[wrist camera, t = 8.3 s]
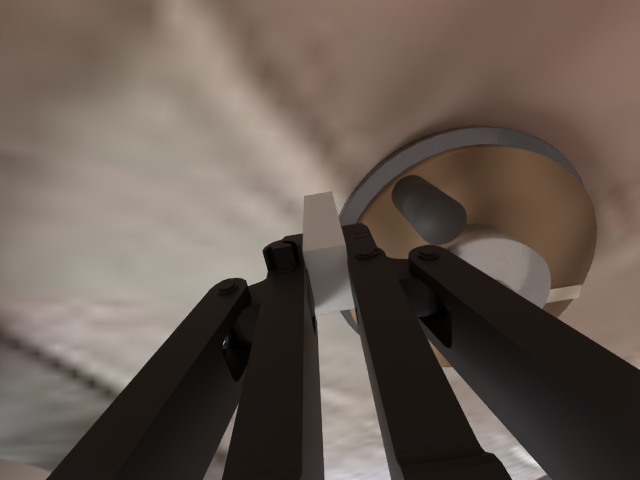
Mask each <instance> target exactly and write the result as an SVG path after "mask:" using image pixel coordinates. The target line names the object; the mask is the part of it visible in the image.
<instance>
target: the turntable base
mask: <svg viewBox="0 0 640 480" xmlns="http://www.w3.org/2000/svg"><path fill="white" fill-rule="evenodd" d="M478 144H494V145H504V146H509V147H515V148H519V149H524V150H528V151H532V152H534V153H537V154H540V155H543V156H546V157H548V158H550V159H552V160H554V161H555V162H557V163H559V164H561V165H562V166H563V167H565V168H566V169H567V170H568V171H570V172H571V173H572V174H573V175H574V176H575V177H576V178H577V180H578V181H579V182H580V183H581V184H582V186H583V183H582V181H581V179H580V177H579V175H578V174H577V172H576V170H575V168H574V167H573V166H572V165H571V164H570V162H569V161H568V160H567V159H566V158H565V156H564V155H562V154H561V153H560V152H559V151H557V150H556V149H555V148H554V147H553V146H551V145H549V144H548V143H546V142H544V141H542V140H540V139H539V138H537V137H534V136H531V135H529V134H526V133H523V132H520V131H515V130H510V129H504V128H498V127H488V126H470V127H461V128H453V129H449V130H445V131H441V132H437V133H434V134H431V135H428V136H426V137H423V138H421V139H418V140H416V141H414V142H412V143H410V144H408V145H406V146H405V147H403V148H401V149H399V150H397V151H396V152H395V153H393V154H392V155H390V156H389V157H387V158H386V159H385V160H383V161H382V162H381V163H380V164H379V165H377V166H376V167H375V168H374V169H373V170H372V171H371V172H370V173H369V174H367V176H366V177H365V178H364V179H363V180H362V181H361V183H360V184H359V185H358V186H357V187H356V188H355V190H354V191H353V193H352V194H351V196H350V197H349V199H348V200H347V202H346V203H345V205H344V207H343V209H342V211H341V213H340V215H339V221H340V225H341V226H345V225H351V224H356V222H357V220H358V218H359V216H360V214H361V213H362V212H363V210H364V209H365V207H366V206H367V205H368V203H369V202H370V201H371V199H372V198H373V197H374V196H375V195H376V194H377V193H378V192H379V191H380V190H381V188H383V187H384V186H385V185H386V184H387V183H388V182H389V181H391V180H392V179H393V178H394V177H395V176H397V175H398V174H400V173H401V172H402V171H404V170H405V169H407V168H408V167H410V166H411V165H413V164H415V163H417V162H419V161H421V160H423V159H425V158H427V157H429V156H432V155H434V154H437V153H440V152H442V151H445V150H449V149H453V148H457V147H461V146H469V145H478ZM583 187H584V186H583ZM340 312H341V313H342V315H343V316H344V318H345V320H346V321H347V322H348V324H349V325H350V326H351V327H352V328H353V329H354V330H355V331H356V332H357V333H358V327H357V324H356V322H355V321H354V319H353V316H352V314H351V311H350V309H348V310H342V311H340ZM358 334H359V335H360V333H358Z"/></svg>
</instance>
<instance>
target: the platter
mask: <svg viewBox="0 0 640 480" xmlns="http://www.w3.org/2000/svg"><path fill="white" fill-rule="evenodd" d="M357 223H363V224H364V225H366V226H368V228H369V230H370V232H371V234H372V237H373V239H374V241H375V243H376V245H377V247H378V248H381V249H382V250H383V251H384V252H385V254H386V256H387V257H390V258H397V259H408V254H409V252H410V251H411V250H412V249H414V248H416V247H419V246H423V245H428V244H429V243H430V244H434V245H442V244H446V243H449V242H451V241H453V240H454V239H456V238H457V237H458V236H459V235H460V234H461V233H462V231H463V230H464V228H465V225H466V224H489V225H492V226H496V227H498V228H500V229H502V230H504V231H505V232H507V233H508V234H510V235H511V236H513V237H514V238H516V239H517V240H519V241H520V242H522V243H523V244H525V245H526V246H528V247H530V248H531V249H533V250H534V251H536V252H537V253H538V254H539V255H540V256H541V257H542V258H543V259H544V261H545V262H546V264H547V266H548V268H549V271H550V275H551V287H550V292H549V296H548V298H547V301H546V303H545V305H544V307H543V310H545V311H546V312H548V313H549V314H551V315H553V316H554V317H556V318H558V317H559V315H560V314H561V313H562V312H563V311H564V310H565V309H566V308H567V307H568V305H569V304H570V303H571V301H572V300H573V299H574V298H579V293H580V289H581V286H582V284H583V283H584V280H585V278H586V276H587V274H588V272H589V269H590V266H591V263H592V260H593V257H594V252H595V246H596V231H597V226H596V219H595V213H594V209H593V206H592V203H591V200H590V198H589V196H588V194H587V193H586V191H585V189H584V187H583V186H582V184H581V183H580V182H579V181H578V180H577V178H576V177H575V176H574V175H573V174H572V173H571V172H570V171H568V170H567V169H566V168H565V167H563V166H562V165H561V164H559V163H557V162H555V161H554V160H552V159H550V158H548V157H546V156H543V155H540V154H537V153H534V152H532V151H528V150H524V149H519V148H515V147H509V146H504V145H494V144H478V145H469V146H461V147H457V148H453V149H449V150H445V151H442V152H440V153H437V154H434V155H432V156H429V157H427V158H425V159H423V160H421V161H419V162H417V163H415V164H413V165H411V166H410V167H408V168H407V169H405V170H404V171H402V172H401V173H400V174H398V175H397V176H395V177H394V178H393V179H392V180H391V181H389V182H388V183H387V184H386V185H385V186H384V187H383V188H381V190H380V191H379V192H378V193H377V194H376V195H375V196H374V197H373V198H372V199H371V201H370V202H369V203H368V205H367V206H366V207H365V209H364V210H363V212H362V213H361V214H360V216H359V218H358V220H357V222H356V224H357ZM350 311H351V314H352V316H353V319H354V321H355V322H356V324H357V320H356V313H355V308H354V309H350ZM428 341H429V340H428ZM429 343H430V345H431V347H432V349H433V351H434V353H435V355H436V357H437V359H438V362H439V364H440V366H441V367H452V366H451V365H450V364H449V362H448V361H447V360H446V359H445V358H444V357H443V356H442V354H441V353H440V352H439V351H438V350H437V349H436V348H435V347H434V345H433V344H432V343H431V342H430V341H429Z"/></svg>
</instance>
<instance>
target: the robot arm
mask: <svg viewBox="0 0 640 480" xmlns="http://www.w3.org/2000/svg"><path fill="white" fill-rule="evenodd" d="M263 255H264V258H265V262H266V266H267V269H268V274H267V278H266V279H265V280H263V281H261V282H259V283H256V284H253V285H250V286H248V285H247V282H246V280H244V279H242V278H232V279H231V278H229V279H226V280H223V281H221V282H220V283H218V284H216V285H215V286H213V287H212V288H211V289H210V290H209V291H208V293H207V294H206V295H205V296H204V297H203V298H202V299H201V301H200V302H199V303H198V304H197V305H196V306H195V308H194V309H193V310H192V311H191V312H190V313H189V315H188V316H187V317H186V318H185V319H184V320H183V321H182V323H181V324H180V325H179V326H178V327H177V328H176V330H175V331H174V332H173V333H172V334H171V335H170V337H169V338H168V339H167V340H166V341H165V342H164V343H163V345H162V346H161V347H160V348H159V349H158V350H157V352H156V353H155V354H154V355H153V356H152V357H151V359H150V360H149V361H148V362H147V363H146V364H145V366H144V367H143V368H142V369H141V370H140V371H139V372H138V374H137V375H136V376H135V377H134V378H133V379H132V381H131V382H130V383H129V384H128V385H127V386H126V388H125V389H124V390H123V391H122V392H121V393H120V394H119V396H118V397H117V398H116V399H115V400H114V401H113V403H112V404H111V405H110V406H109V407H108V408H107V410H106V411H105V412H104V413H103V414H102V415H101V416H100V418H99V419H98V420H97V421H96V422H95V423H94V425H93V426H92V427H91V428H90V429H89V430H88V432H87V433H86V434H85V435H84V436H83V437H82V438H81V440H80V441H79V442H78V443H77V444H76V445H75V447H74V448H73V449H72V450H71V451H70V452H69V454H68V455H67V456H66V457H65V458H64V459H63V461H62V462H61V463H60V464H59V465H58V466H57V467H56V469H55V470H54V471H53V472H52V473H51V475H50V476H49V477H48V478H47V479H46V480H203V478H204V476H205V473H206V471H207V469H208V467H209V465H210V463H211V461H212V459H213V456H214V454H215V452H216V450H217V448H218V446H219V444H220V441H221V439H222V437H223V435H224V433H225V431H226V429H227V427H228V424H229V422H230V420H231V418H232V416H233V414H234V412H235V410H236V407H237V405H238V403H239V405H238V410H237V414H236V419H235V423H234V428H233V432H232V437H231V441H230V446H229V450H228V455H227V459H226V464H225V469H224V473H223V477H222V480H324V459H323V438H322V416H321V395H320V374H319V353H318V332H317V320H316V316H315V312H316V314H323V313H329V312H335V311H342V310H348V309H354V308H355V313H356V320H357V327H358V333H360V338H361V342H362V347H363V351H364V356H365V361H366V365H367V370H368V374H369V379H370V384H371V388H372V393H373V397H374V402H375V407H376V411H377V416H378V421H379V425H380V430H381V434H382V439H383V444H384V448H385V453H386V457H387V462H388V467H389V471H390V476H391V480H512V479H511V477H510V475H509V474H508V472H507V470H506V469H505V467H504V466H503V464H502V462H501V461H500V460H499V459H498V458H497V457H496V456H495V455H494V454H492V453H488V452H485V451H484V450H483V449H482V447H481V446H480V444H479V442H478V441H477V439H476V437H475V435H474V433H473V431H472V429H471V427H470V425H469V423H468V420H467V418H466V416H465V414H464V412H463V410H462V408H461V406H460V404H459V402H458V400H457V398H456V396H455V394H454V392H453V390H452V388H451V386H450V384H449V382H448V380H447V378H446V376H445V374H444V372H443V370H442V368H441V366H440V364H439V362H438V359H437V357H436V355H435V353H434V351H433V349H432V347H431V345H430V343H429V341H430V342H431V343H432V344H433V345H434V347H435V348H436V349H437V350H438V351H439V352H440V353H441V354H442V356H443V357H444V358H445V359H446V360H447V361H448V362H449V364H450V365H451V366H452V367H453V368H454V369H455V370H456V371H457V373H458V374H459V375H460V376H461V377H462V378H463V379H464V380H465V382H466V383H467V384H468V385H469V386H470V387H471V388H472V390H473V391H474V392H475V393H476V394H477V395H478V396H479V397H480V399H481V400H482V401H483V402H484V403H485V404H486V405H487V406H488V408H489V409H490V410H491V411H492V412H493V413H494V414H495V416H496V417H497V418H498V419H499V420H500V421H501V422H502V423H503V425H504V426H505V427H506V428H507V429H508V430H509V431H510V432H511V434H512V435H513V436H514V437H515V438H516V439H517V440H518V441H519V443H520V444H521V445H522V446H523V447H524V448H525V449H526V451H527V452H528V453H529V454H530V455H531V456H532V457H533V458H534V460H535V461H536V462H537V463H538V464H539V465H540V466H541V467H542V469H543V470H544V471H545V472H546V473H547V474H548V475H549V477H551V479H552V480H640V370H639V369H637V368H636V367H634V366H633V365H631V364H629V363H628V362H626V361H625V360H623V359H621V358H620V357H618V356H617V355H615V354H613V353H612V352H610V351H609V350H607V349H605V348H604V347H602V346H601V345H599V344H597V343H596V342H594V341H593V340H591V339H589V338H588V337H586V336H585V335H583V334H581V333H580V332H578V331H577V330H575V329H573V328H572V327H570V326H569V325H567V324H565V323H564V322H562V321H561V320H559V319H557V318H556V317H554V316H553V315H551V314H549V313H548V312H546V311H545V310H543V309H541V308H540V307H538V306H537V305H535V304H533V303H532V302H530V301H529V300H527V299H525V298H524V297H522V296H521V295H519V294H517V293H516V292H514V291H513V290H511V289H509V288H508V287H506V286H505V285H503V284H501V283H500V282H498V281H497V280H495V279H493V278H492V277H490V276H489V275H487V274H485V273H484V272H482V271H481V270H479V269H477V268H476V267H474V266H473V265H471V264H469V263H468V262H466V261H465V260H463V259H461V258H460V257H458V256H457V255H455V254H453V253H452V252H450V251H449V250H447V249H445V248H443V247H440V246H434V245H423V246H419V247H416V248H414V249H412V250H411V251H410V252H409V254H408V259H397V258H390V257H387V256H386V254H385V252H384V251H383V250H382V249H381V248H378V247H377V245H376V243H375V241H374V239H373V237H372V234H371V232H370V230H369V228H368V226H366V225H364V224H363V223H357V224H351V225H345V226H341V225H340V221H339V217H338V213H337V209H336V205H335V201H334V198H333V194H332V191H331V192H325V193H320V194H314V195H308V196H304V221H303V234H297V235H291V236H285V237H284V238H283V239H282V240H279V241H275V242H273V243H271V244H269V245H267V246H266V247H265V248H264V249H263ZM224 340H225V343H224V345H223V342H224ZM428 340H429V341H428Z"/></svg>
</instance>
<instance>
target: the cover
mask: <svg viewBox="0 0 640 480" xmlns="http://www.w3.org/2000/svg"><path fill="white" fill-rule="evenodd" d="M428 245H434V244H430V243H429V244H428ZM434 246H440V247H443V248H445V249H447V250H449V251H450V252H452V253H453V254H455V255H457V256H458V257H460V258H461V259H463V260H465V261H466V262H468V263H469V264H471V265H473V266H474V267H476V268H477V269H479V270H481V271H482V272H484V273H485V274H487V275H489V276H490V277H492V278H493V279H495V280H497V281H498V282H500V283H501V284H503V285H505V286H506V287H508V288H509V289H511V290H513V291H514V292H516V293H517V294H519V295H521V296H522V297H524V298H525V299H527V300H529V301H530V302H532V303H533V304H535V305H537V306H538V307H540V308H541V309H543V307H544V305H545V303H546V301H547V298H548V296H549V292H550V287H551V275H550V271H549V268H548V266H547V264H546V262H545V261H544V259H543V258H542V257H541V256H540V255H539V254H538V253H537V252H536V251H534V250H533V249H531V248H530V247H528V246H526V245H525V244H523V243H522V242H520V241H519V240H517V239H516V238H514V237H513V236H511V235H510V234H508V233H507V232H505V231H504V230H502V229H500V228H498V227H496V226H492V225H489V224H466V225H465V228H464V230H463V231H462V233H461V234H460V235H459V236H458V237H457V238H456V239H454V240H453V241H451V242H449V243H446V244H442V245H434Z"/></svg>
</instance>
